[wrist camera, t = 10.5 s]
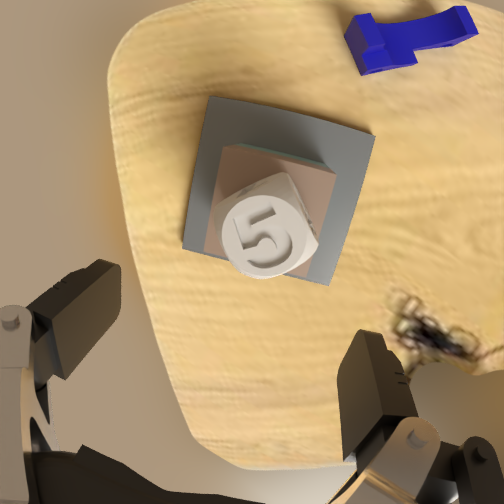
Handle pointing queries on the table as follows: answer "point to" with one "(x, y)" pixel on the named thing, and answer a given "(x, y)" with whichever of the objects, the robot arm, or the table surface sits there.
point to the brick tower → (276, 161)
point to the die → (265, 228)
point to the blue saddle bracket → (404, 38)
